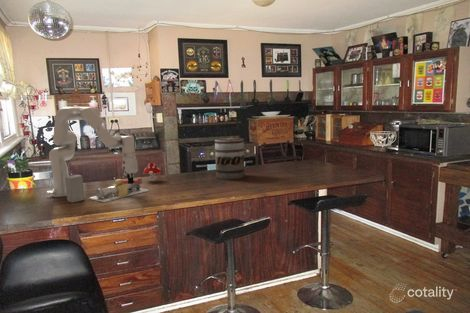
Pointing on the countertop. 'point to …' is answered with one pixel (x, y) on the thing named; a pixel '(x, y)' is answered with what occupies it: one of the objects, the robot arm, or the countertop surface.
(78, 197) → the skincare box
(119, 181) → the lever
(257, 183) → the countertop surface
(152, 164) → the decorative mushroom
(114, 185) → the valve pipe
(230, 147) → the barrel
